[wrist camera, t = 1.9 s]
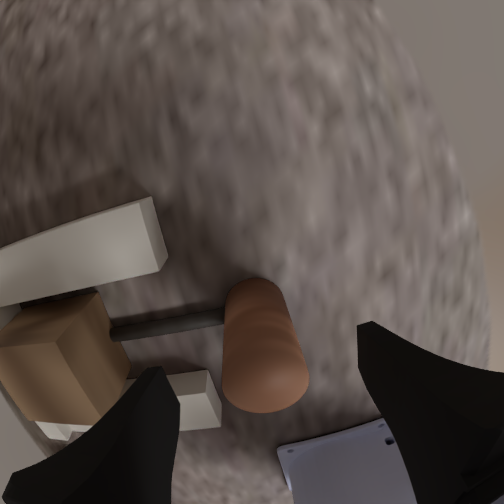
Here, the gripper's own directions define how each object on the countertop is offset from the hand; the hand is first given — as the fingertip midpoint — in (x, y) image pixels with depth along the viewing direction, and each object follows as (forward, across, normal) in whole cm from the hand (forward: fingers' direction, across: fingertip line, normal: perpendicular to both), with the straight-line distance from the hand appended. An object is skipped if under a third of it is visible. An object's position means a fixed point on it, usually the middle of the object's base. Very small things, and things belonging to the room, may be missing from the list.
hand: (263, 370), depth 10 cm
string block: (+5, +6, 0) cm, 8 cm away
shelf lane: (+5, +9, 0) cm, 10 cm away
